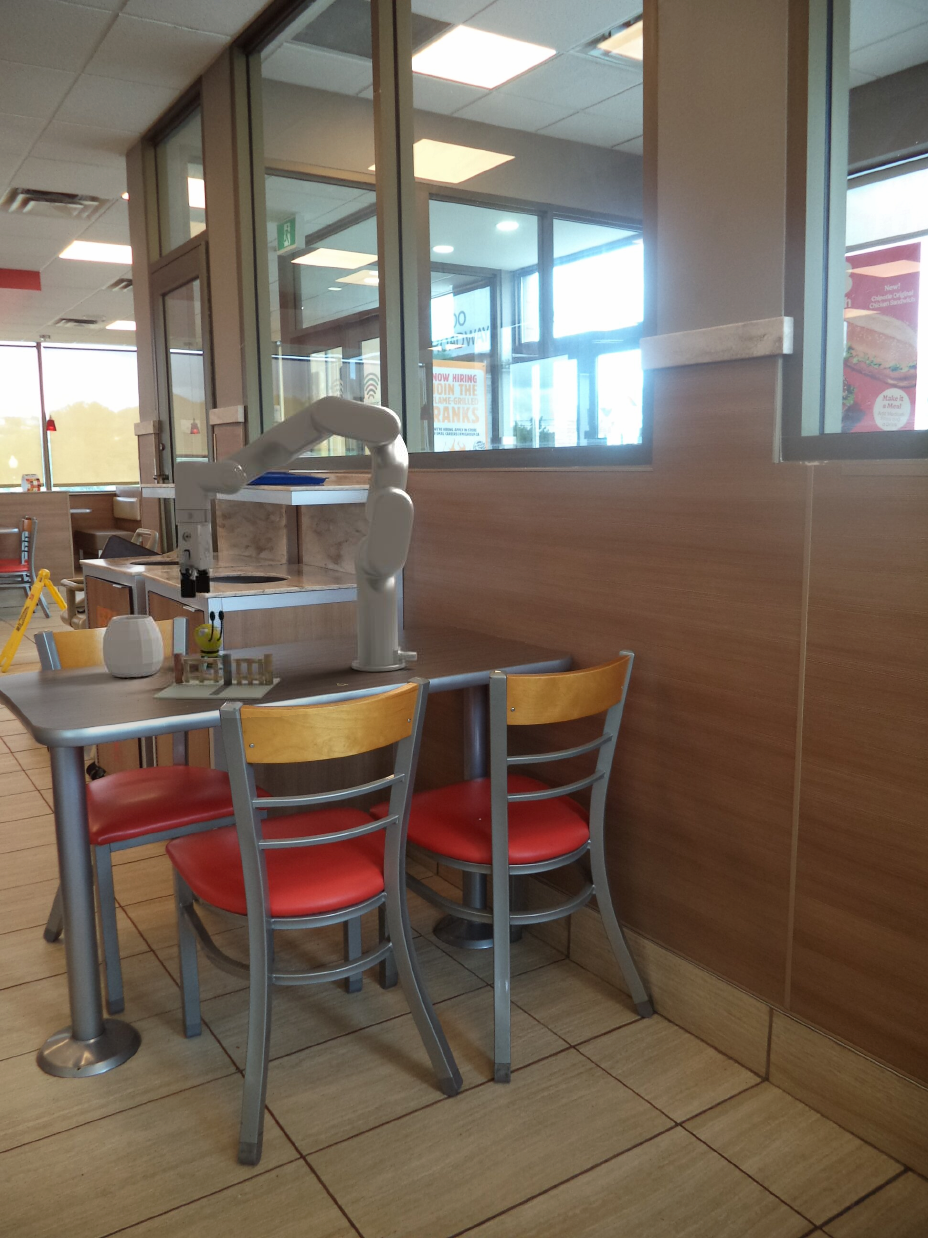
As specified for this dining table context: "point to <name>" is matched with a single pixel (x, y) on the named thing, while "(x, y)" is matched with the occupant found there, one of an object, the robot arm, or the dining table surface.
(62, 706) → the dining table surface
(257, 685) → the card
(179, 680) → the fence wing
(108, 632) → the white faceted vase
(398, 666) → the robot arm
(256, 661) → the fence fixed
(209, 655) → the toy
